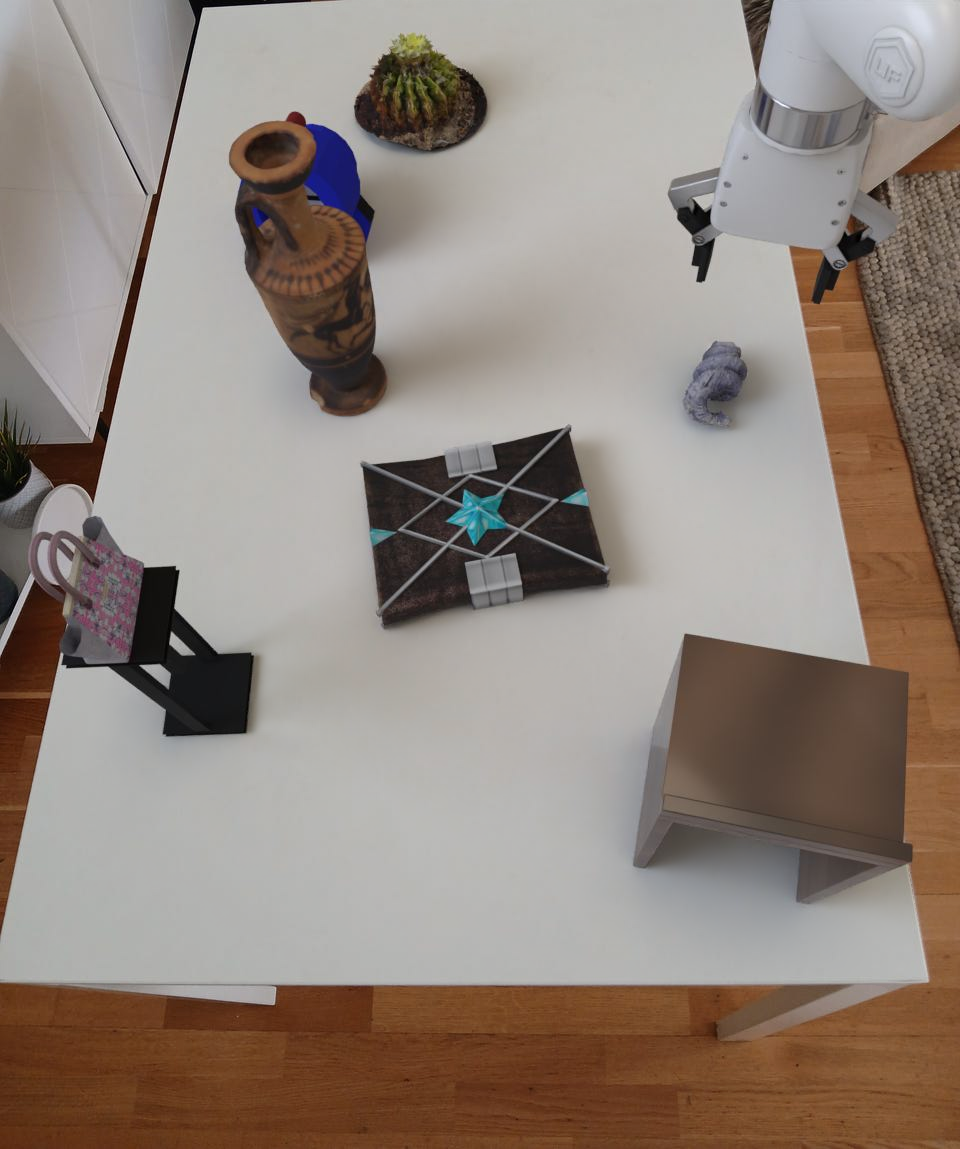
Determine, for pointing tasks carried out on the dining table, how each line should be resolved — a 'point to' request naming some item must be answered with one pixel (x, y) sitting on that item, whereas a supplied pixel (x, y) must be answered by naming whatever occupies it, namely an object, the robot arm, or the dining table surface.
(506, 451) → the book
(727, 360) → the seashell
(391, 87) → the cactus
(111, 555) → the handbag
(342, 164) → the alarm clock
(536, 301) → the dining table surface
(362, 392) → the vase
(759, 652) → the shelf
